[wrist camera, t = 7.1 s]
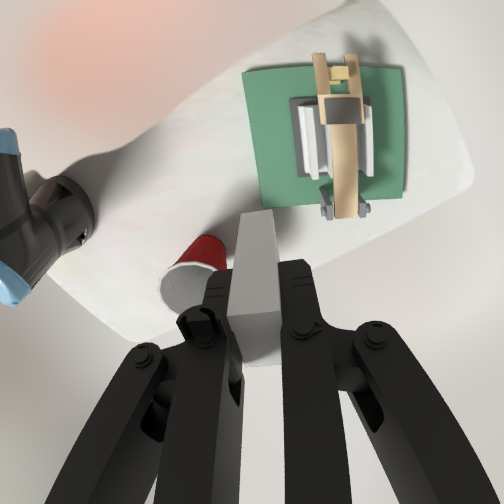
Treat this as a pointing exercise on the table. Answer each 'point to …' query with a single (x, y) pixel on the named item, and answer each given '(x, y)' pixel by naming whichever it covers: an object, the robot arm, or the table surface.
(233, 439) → the robot arm
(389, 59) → the table surface
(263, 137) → the board
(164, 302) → the plastic cup
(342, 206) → the strap
